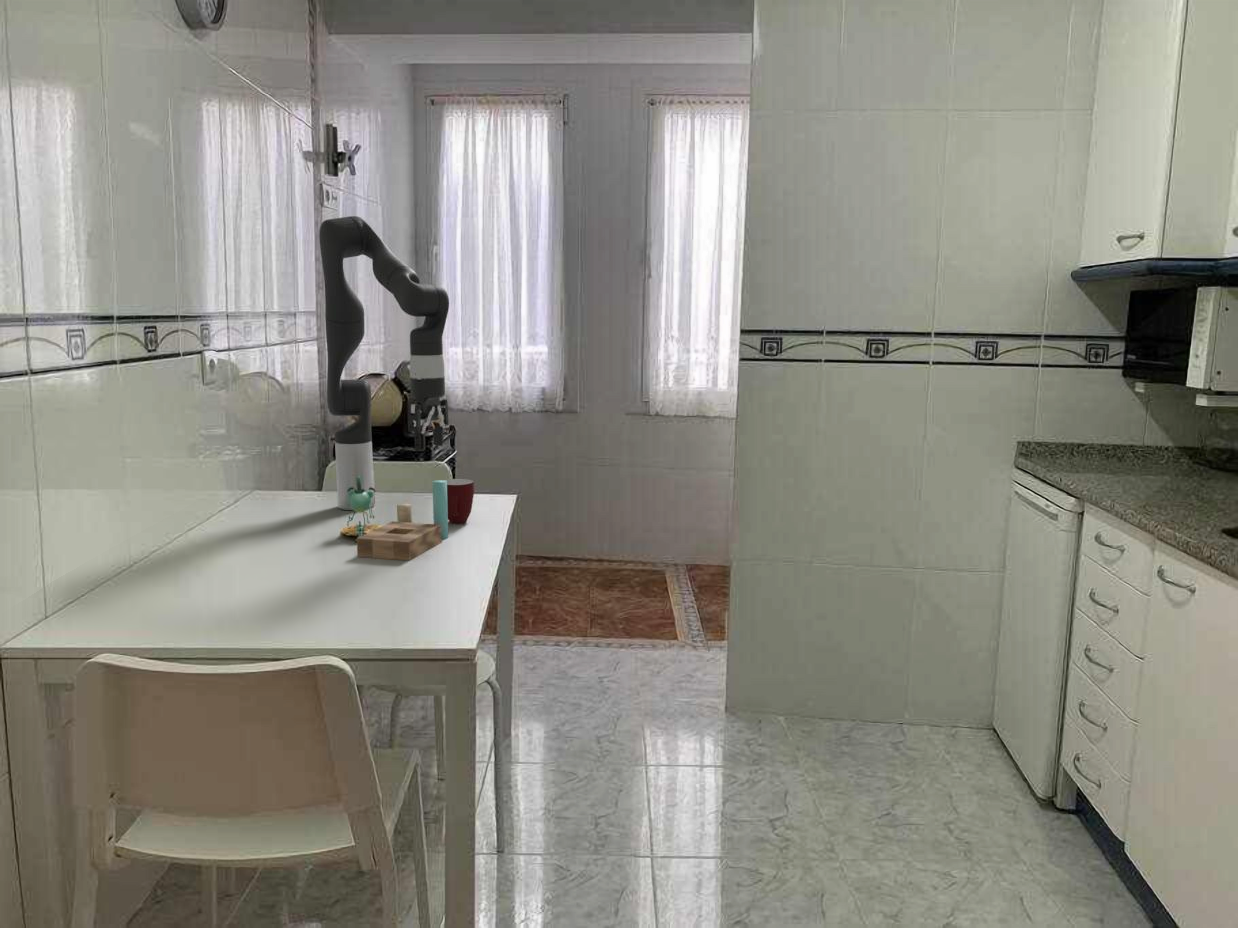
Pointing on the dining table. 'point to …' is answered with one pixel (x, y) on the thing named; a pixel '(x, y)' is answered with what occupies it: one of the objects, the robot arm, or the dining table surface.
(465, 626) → the dining table surface
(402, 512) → the short pin
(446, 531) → the long pin
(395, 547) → the hole block
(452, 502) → the mug
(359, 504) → the teal creature figurine
